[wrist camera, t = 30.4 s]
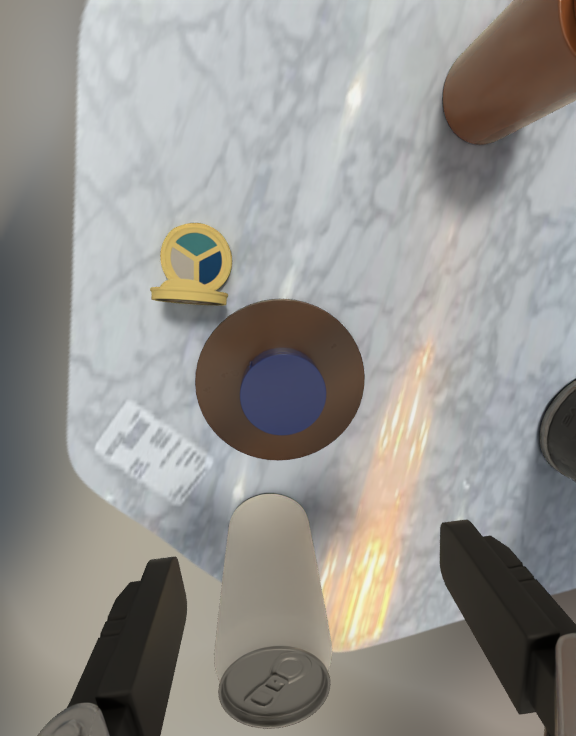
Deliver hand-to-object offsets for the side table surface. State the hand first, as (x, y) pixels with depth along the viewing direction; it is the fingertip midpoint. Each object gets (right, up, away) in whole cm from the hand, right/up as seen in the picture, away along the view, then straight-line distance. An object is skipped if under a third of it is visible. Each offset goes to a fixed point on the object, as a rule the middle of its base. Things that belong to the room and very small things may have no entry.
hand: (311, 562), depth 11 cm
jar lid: (-1, +4, +13) cm, 14 cm away
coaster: (-1, +5, +15) cm, 16 cm away
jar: (+11, +22, +11) cm, 28 cm away
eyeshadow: (-7, +13, +13) cm, 19 cm away
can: (-2, -7, +19) cm, 20 cm away
